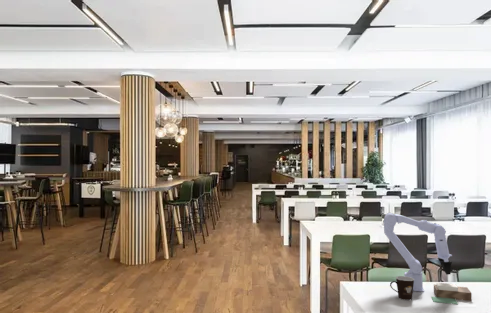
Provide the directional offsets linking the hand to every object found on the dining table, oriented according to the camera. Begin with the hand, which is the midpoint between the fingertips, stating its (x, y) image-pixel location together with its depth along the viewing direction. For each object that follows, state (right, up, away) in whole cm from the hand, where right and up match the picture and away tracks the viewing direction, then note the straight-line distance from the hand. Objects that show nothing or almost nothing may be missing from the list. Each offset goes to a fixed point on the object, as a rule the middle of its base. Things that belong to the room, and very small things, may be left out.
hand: (447, 272), depth 209 cm
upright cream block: (-4, -6, -7) cm, 10 cm away
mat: (-9, -10, -14) cm, 19 cm away
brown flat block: (-1, -10, -7) cm, 12 cm away
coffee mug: (-28, -10, -10) cm, 32 cm away
